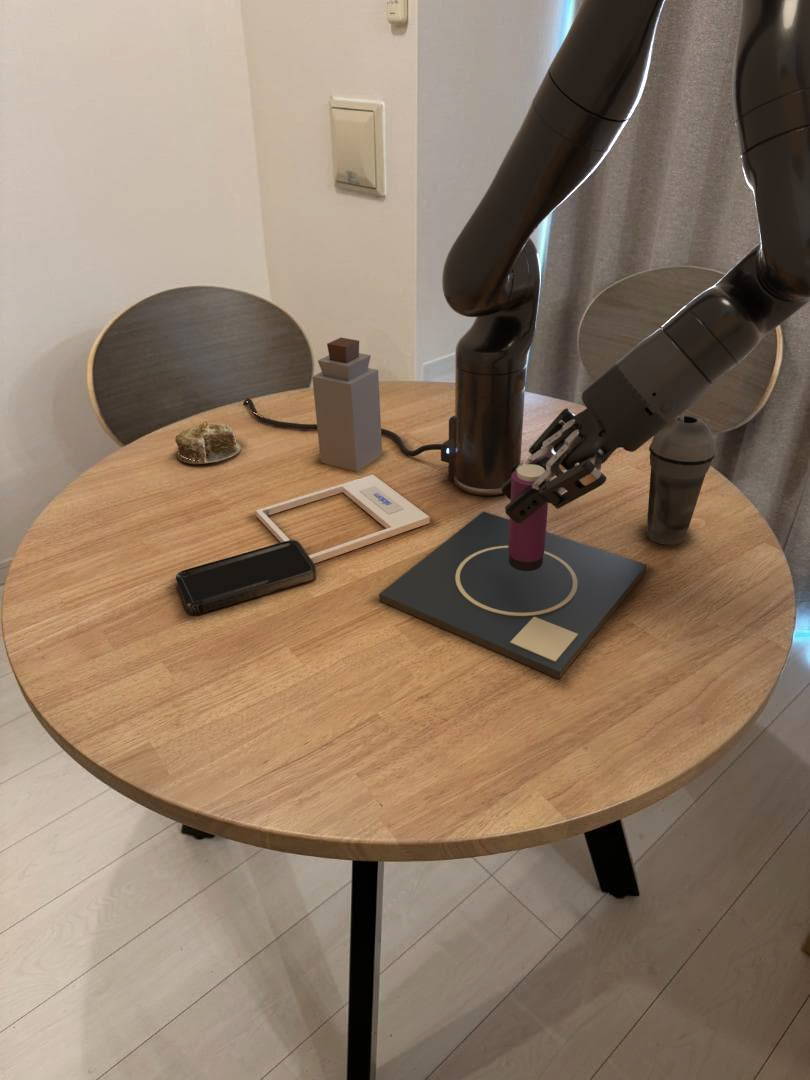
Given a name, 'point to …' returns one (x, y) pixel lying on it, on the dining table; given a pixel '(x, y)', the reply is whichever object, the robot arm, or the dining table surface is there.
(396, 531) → the photo frame
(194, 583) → the phone
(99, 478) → the dining table surface
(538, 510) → the dot marker
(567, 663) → the slate board
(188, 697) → the dining table surface
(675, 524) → the beverage cup
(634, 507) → the dining table surface
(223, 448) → the cake
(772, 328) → the robot arm
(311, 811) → the dining table surface
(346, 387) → the perfume bottle
